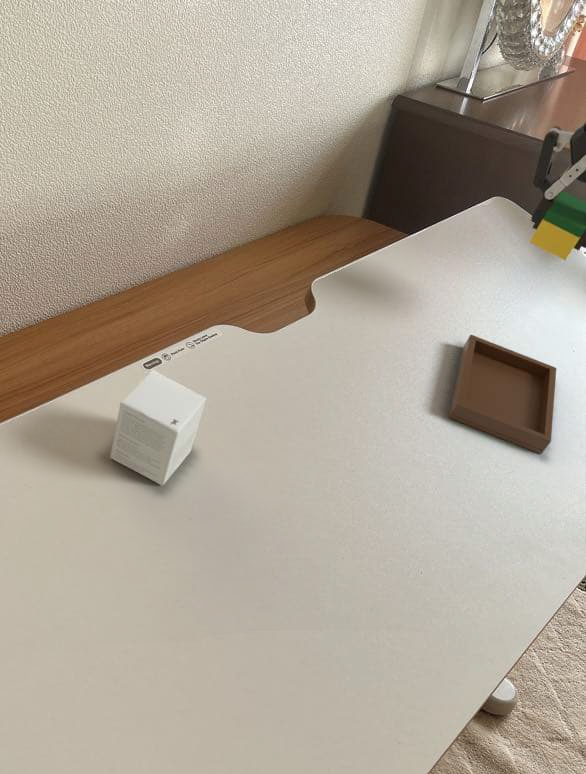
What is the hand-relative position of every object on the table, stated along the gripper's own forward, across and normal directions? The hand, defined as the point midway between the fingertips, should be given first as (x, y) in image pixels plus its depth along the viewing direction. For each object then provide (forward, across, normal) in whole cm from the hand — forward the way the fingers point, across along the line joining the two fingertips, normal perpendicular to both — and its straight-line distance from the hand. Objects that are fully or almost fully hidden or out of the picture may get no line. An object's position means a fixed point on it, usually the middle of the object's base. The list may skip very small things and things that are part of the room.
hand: (556, 236), depth 104 cm
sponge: (+1, 0, 0) cm, 1 cm away
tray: (+14, -4, +14) cm, 20 cm away
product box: (+14, +22, +51) cm, 57 cm away
